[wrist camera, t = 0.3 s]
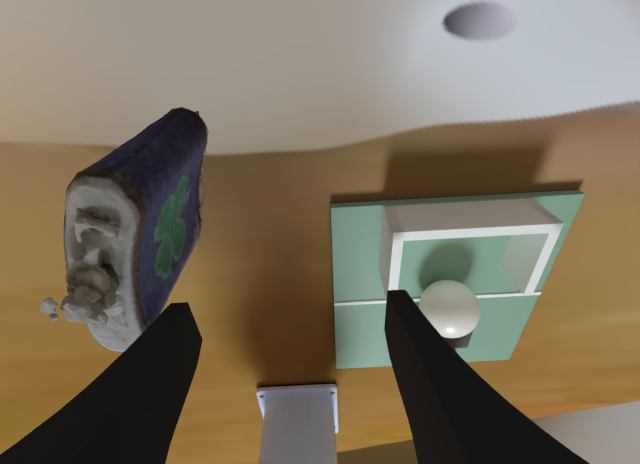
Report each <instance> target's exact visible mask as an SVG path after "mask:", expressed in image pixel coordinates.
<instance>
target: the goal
mask: <svg viewBox="0 0 640 464" xmlns="http://www.w3.org/2000/svg"><path fill="white" fill-rule="evenodd" d="M563 225H564V223H563V222H562V221H561V220H559V219H558V218H557V217H556V216H554V215H553V214H552V213H550V212H549V211H548V210H547V209H545V208H544V207H543V206H541V205H540V204H539V203H538V202H536V201H535V200H534V199H532V198H528V199H510V200H492V201H474V202H456V203H438V204H420V205H402V206H384V207H383V217H382V231H381V245H380V259H379V275H380V279H381V282H382V286H383V290H384V293H385V297H386V300H387V290H398V283H399V275H400V267H401V258H402V250H403V241H413V240H431V239H449V238H467V237H486V236H504V235H510V237H509V240H508V243H507V246H506V249H505V252H504V255H503V258H502V261H501V264H500V266H501V267H502V268H503V270H504V271H505V272H506V274H507V275H508V276H509V277H510V279H511V280H512V281H513V282H514V284H515V285H516V286H517V287H518V289H519V290H520V291H521V293H522V294H523V295H531V294H533V293H534V290H535V288H536V286H537V284H538V281H539V279H540V277H541V275H542V272H543V270H544V268H545V266H546V263H547V261H548V259H549V257H550V254H551V252H552V250H553V248H554V245H555V243H556V241H557V239H558V236H559V234H560V232H561V229H562V227H563Z"/></svg>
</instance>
